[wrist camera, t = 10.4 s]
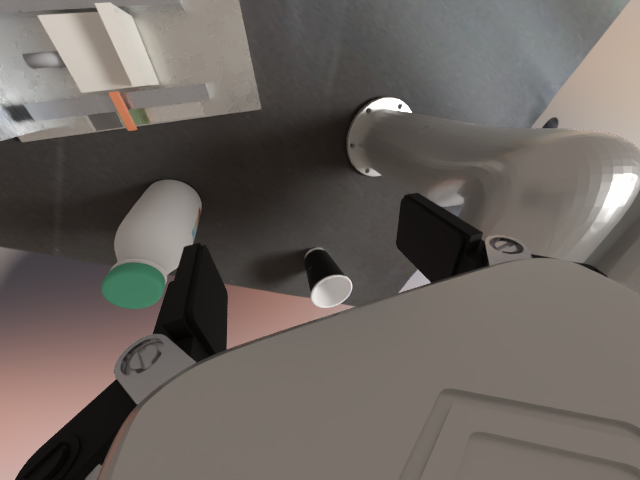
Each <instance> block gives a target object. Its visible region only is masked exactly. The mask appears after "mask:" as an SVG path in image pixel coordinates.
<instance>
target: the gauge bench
mask: <svg viewBox="0 0 640 480" xmlns="http://www.w3.org/2000/svg"><path fill="white" fill-rule="evenodd" d="M108 2H110V3H112V4H113V5H115V6H117V7H118V8H120V9H121V10H123V11H124V12H126V13H128V14H129V15H131V16H132V17H133V20H134V22H135V25H136V27H137V30H138V32H139V35H140V37H141V40H142V42H143V45H144V47H145V50H146V52H147V55H148V57H149V59H150V62H151V64H152V67H153V69H154V72H155V74H156V77H157V79H158V82H159V84H160V85H152V86H142V87H133V88H124V89H115V90H106V91H97V92H86V93H81V91H80V89H79V88H78V86H77V84H76V82H75V81H74V79H73V77H72V75H71V74H70V72H69V70H68V68H67V67H66V66H58V67H47V68H36V69H33V68H31V67H29V66H28V65H27V63H26V62H25V61H24V59H23V57H22V54H25V53H38V52H50V51H57V49H56V48H55V46H54V44H53V42H52V41H51V39H50V37H49V35H48V34H47V32H46V30H45V28H44V27H43V25H42V23H41V21H40V20H39V18H38V16H37V15H50V14H68V13H86V12H98V10H97V8H96V6H95V4H94V3H108ZM115 91H119V93H120V95H121V97H122V99H123V101H124V103H125V105H126V107H127V109H128V111H129V113H130V115H131V117H132V119H133V121H134V123H135V125H136V126H144V125H151V124H158V123H165V122H173V121H180V120H187V119H194V118H201V117H209V116H216V115H223V114H230V113H238V112H245V111H252V110H259V109H261V105H260V100H259V95H258V90H257V86H256V81H255V76H254V71H253V66H252V62H251V57H250V52H249V47H248V42H247V37H246V33H245V28H244V23H243V18H242V13H241V8H240V4H239V0H0V141H2V140H6V139H10V138H14V137H18V138H19V139H20V140H21V142H28V141H35V140H42V139H50V138H57V137H64V136H71V135H78V134H86V133H93V132H100V131H107V130H115V129H122V128H126V126H125V124H124V122H123V120H122V118H121V116H120V114H119V112H118V110H117V108H116V107H115V105H114V103H113V101H112V99H111V97H110V95H109V93H108V92H115Z"/></svg>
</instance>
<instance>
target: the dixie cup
mask: <svg viewBox="0 0 640 480" xmlns="http://www.w3.org/2000/svg"><path fill="white" fill-rule="evenodd" d="M304 263H305V268H306V272H307V277H308V282H309V286H310V291H311V301H312V302H313V304H314V305H316V306H318V307H321V308H329V307H333V306H336V305H338V304H340V303H342V302H343V301H344V300H346V299H347V297H348V296H349V295H350V293H351V291H352V283H351V280H350V279H349V278H348V277H346V276H345V275H344V274H343V272H342V271H341V270H340V269H339V267H338V266H337V265H336V263H335V262H334V261H333V259H332V258H331V257H330V256H329V254H328V253H327V252H326V251H325V250H323V249H322V248H313V249H311V250H309V251H308V252H307V253H306V255H305V260H304Z"/></svg>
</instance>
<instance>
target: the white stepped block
mask: <svg viewBox="0 0 640 480" xmlns="http://www.w3.org/2000/svg"><path fill="white" fill-rule="evenodd" d="M94 4H95V6H96V8H97V10H98V12H86V13H68V14H50V15H37V16H38V18H39V20H40V21H41V23H42V25H43V27H44V28H45V30H46V32H47V34H48V35H49V37H50V39H51V41H52V42H53V44H54V46H55V48H56V49H57V51H50V52H38V53H25V54H22V57H23V59H24V61H25V62H26V63H27V65H28V66H29V67H31V68H33V69H36V68H47V67H58V66H66V67H67V68H68V70H69V72H70V74H71V75H72V77H73V79H74V81H75V82H76V84H77V86H78V88H79V89H80V91H81V93H86V92H97V91H106V90H115V89H124V88H133V87H142V86H152V85H160V84H159V82H158V79H157V77H156V74H155V72H154V69H153V67H152V64H151V62H150V59H149V57H148V55H147V52H146V50H145V47H144V45H143V42H142V40H141V37H140V35H139V32H138V30H137V27H136V25H135V22H134V20H133V17H132V16H131V15H129V14H128V13H126V12H124V11H123V10H121V9H120V8H118V7H117V6H115V5H113V4H112V3H110V2H108V3H94ZM108 93H109V95H110V97H111V99H112V101H113V103H114V105H115V107H116V108H117V110H118V112H119V114H120V116H121V118H122V120H123V122H124V124H125V126H126V128H127V130H128V131H133V130H137V127H136V125H135V123H134V121H133V119H132V117H131V115H130V113H129V111H128V109H127V107H126V105H125V103H124V101H123V99H122V97H121V95H120V93H119V91H115V92H108Z"/></svg>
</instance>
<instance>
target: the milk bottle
mask: <svg viewBox="0 0 640 480" xmlns="http://www.w3.org/2000/svg"><path fill="white" fill-rule="evenodd" d="M201 210H202V203H201V199H200V197H199V195H198V194H197V192H196V191H195V190H194V189H193V188H192V187H190V186H189V185H187V184H185V183H183V182H180V181H177V180H169V179H167V180H160V181H157V182H155V183H153V184H152V185H151V186H149V188H148V189H147V190H146V191H145V192H144V193H143V195H142V196H141V197H140V198H139V200H138V201H137V202H136V204H135V205H134V206H133V208H132V209H131V210H130V212H129V213H128V214H127V216H126V217H125V218H124V220H123V221H122V223H121V224H120V226H119V228H118V230H117V233H116V236H115V241H114V248H115V254H116V257H117V263H116V264H115V265H114V266H113V267H112V268H111V270H110V272H109V273H108V274H107V276H106V277H105V279H104V281H103V283H102V286H101V292H102V294H103V296H104V298H105V299H106V300H107V301H109V302H110V303H112V304H114V305H116V306H119V307H122V308H128V309H139V308H145V307H148V306H151V305H152V304H154V303H156V302H157V301H158V300H159V298H160V297H161V296H162V294H163V291H164V288H165V284H166V282H167V275H168V274H169V273H170V272H172V271H173V270H175V269H176V268H177V267H178V266H179V262H180V259H181V255H182V252H183V248H184V247H185V246H188V245H193V242H194V239H195V235H196V231H197V227H198V223H199V219H200V215H201Z"/></svg>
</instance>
